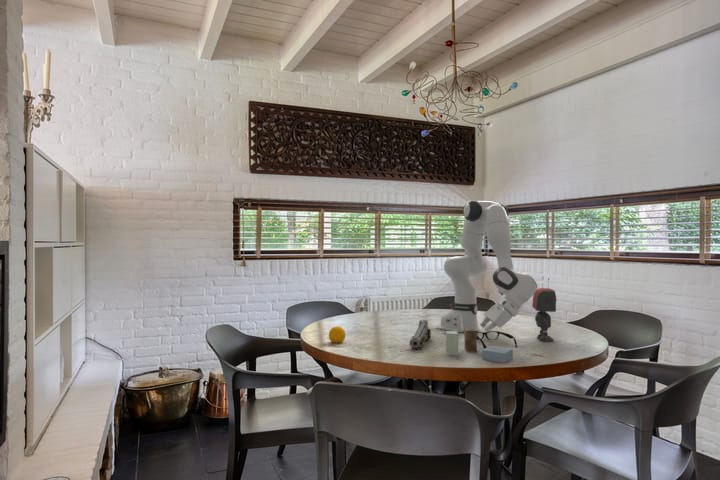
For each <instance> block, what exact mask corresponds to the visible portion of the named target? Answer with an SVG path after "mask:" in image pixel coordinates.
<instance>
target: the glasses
mask: <svg viewBox="0 0 720 480" xmlns="http://www.w3.org/2000/svg"><path fill="white" fill-rule="evenodd" d="M489 333H496V334H497V335H496V338H492V339H491V338H489V337H488V334H489ZM477 334H482V336H481V338H480V336H478V335H477V341H479V342H480V343H481V345H482V346H483V349H485V348H487V345H486V343H485V342H484V338H486V339H487V340H492V341H493V340H495V341H496V340H498V338H499V336H500V335H503V336H504V337H507V338H509V339H513V341H514V345H515V346H514V347H515V348H518V343H517V340H516V338H515V337H514V336H513V335H512V334H510V333H506V332H502V331H498V330H497V331H496V330H495V331H494V330H490V331H489V332H487V331H485V332H482V331H477Z"/></svg>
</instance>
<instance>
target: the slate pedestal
mask: <svg viewBox="0 0 720 480" xmlns="http://www.w3.org/2000/svg"><path fill="white" fill-rule="evenodd" d="M486 347H487V346H486ZM513 351H514V350H513V348H509V347H508V348H507V347H503V346H502V347H501V346H495V345H490V346H488V347H487V348H482V349H481V359H482V360H485V361H492V362H497V363H502V364H504V363H506V362H508V361H510V360H512V359H514V355H513V354H514V353H513Z"/></svg>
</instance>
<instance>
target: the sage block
mask: <svg viewBox="0 0 720 480" xmlns="http://www.w3.org/2000/svg"><path fill="white" fill-rule="evenodd" d="M445 354H446V355H447V356H459V332H457V331H449V330H445Z"/></svg>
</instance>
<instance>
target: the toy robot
mask: <svg viewBox="0 0 720 480" xmlns="http://www.w3.org/2000/svg"><path fill="white" fill-rule="evenodd" d="M542 279H544V277H542ZM547 280H548V281H549V280H550V278H548V279H547ZM541 286H542V287H540V288H537V290H536V292H535V293H534V294H533V295H532V305H531V306H532V308H533V309H534V310H535V311H537V312H536V313H535V314H536V315H535V316H534V317H535V318H534V320H535V323H536V326H537V327H538V328H540V330H539V334H537V337H536V338H537V340H538V342H543V343H553V342H555V340H554V338H553V337H551V336H549V335H548V334H549V333H548V329H550V328H551V327H552V317H551V315H550V314H549V313H551V312H552V313H553V312H554V313H555V312H557V296H556V291H555V290H554V289H552V288H549V286H550V285H549V283H548V285H547V286H548V287H543V286H544V284H541ZM548 312H549V313H548Z"/></svg>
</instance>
